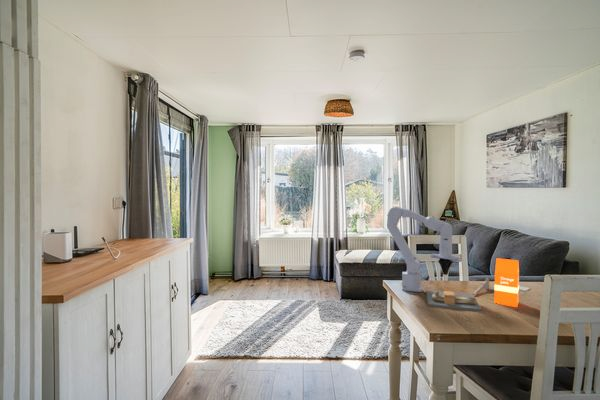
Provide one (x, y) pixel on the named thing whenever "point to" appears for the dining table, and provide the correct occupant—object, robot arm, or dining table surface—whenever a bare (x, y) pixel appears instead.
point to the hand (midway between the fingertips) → (445, 274)
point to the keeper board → (452, 301)
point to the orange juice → (507, 282)
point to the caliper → (482, 286)
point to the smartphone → (523, 288)
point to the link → (457, 299)
